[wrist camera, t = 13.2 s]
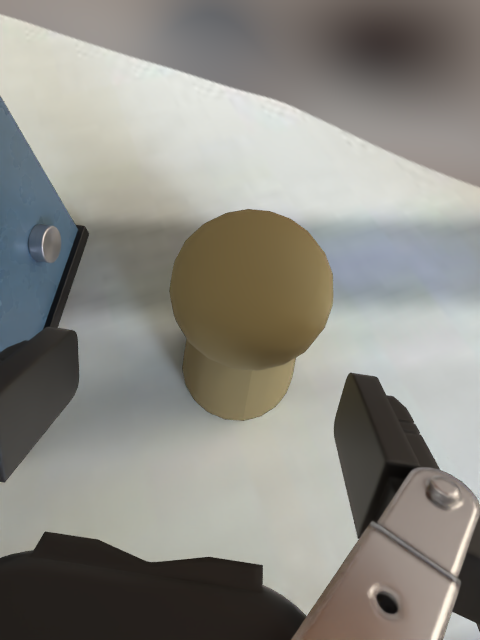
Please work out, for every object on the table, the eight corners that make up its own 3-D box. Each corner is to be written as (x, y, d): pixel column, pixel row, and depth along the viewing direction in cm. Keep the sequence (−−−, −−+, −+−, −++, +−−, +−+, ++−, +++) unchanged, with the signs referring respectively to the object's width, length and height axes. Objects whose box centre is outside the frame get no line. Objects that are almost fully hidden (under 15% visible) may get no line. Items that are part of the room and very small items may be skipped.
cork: (198, 302, 22) (182, 159, 12) (301, 326, 22) (372, 201, 12) (168, 405, 20) (116, 336, 10) (281, 433, 20) (348, 392, 10)
